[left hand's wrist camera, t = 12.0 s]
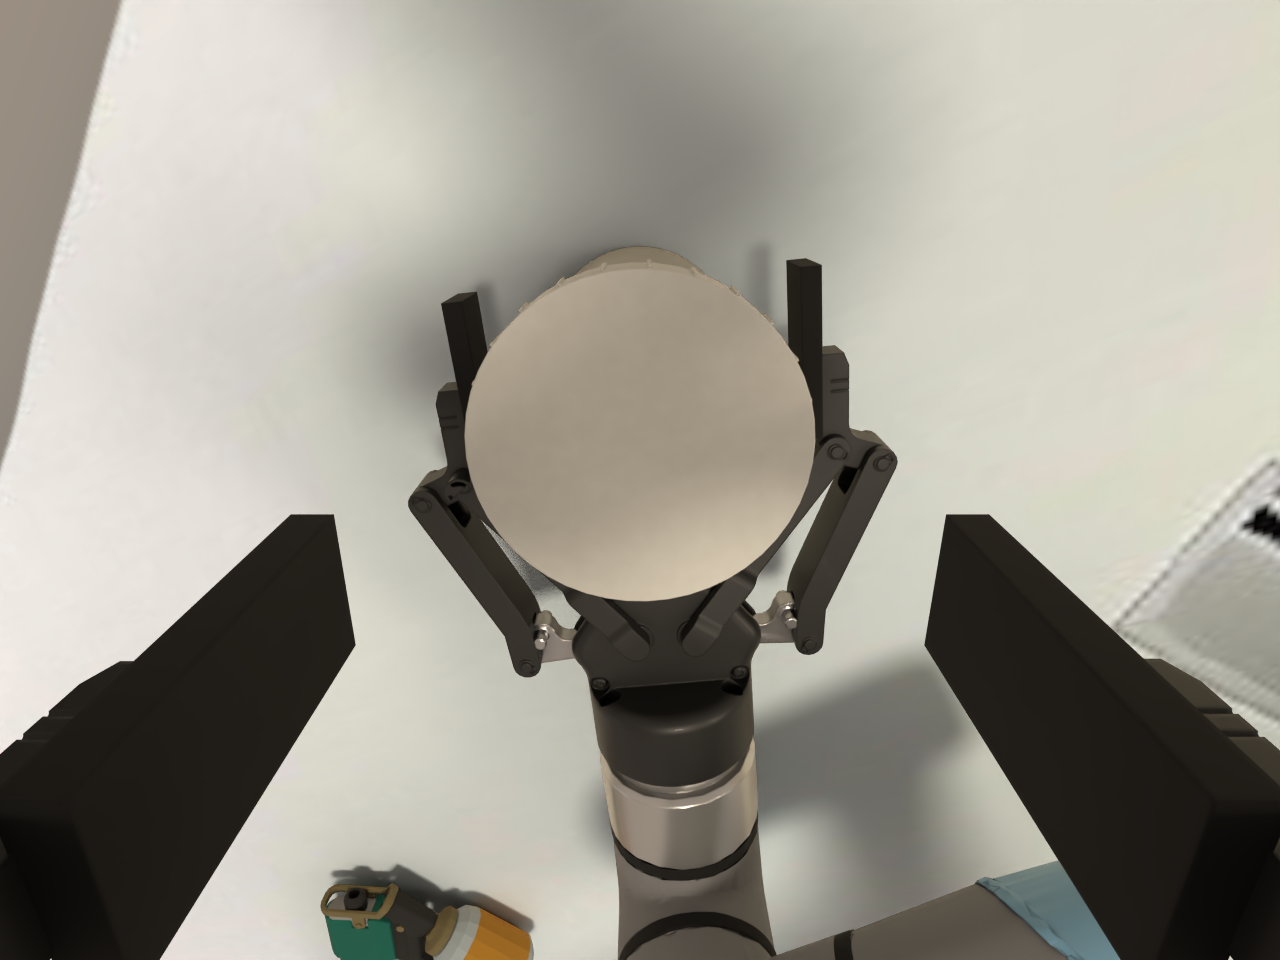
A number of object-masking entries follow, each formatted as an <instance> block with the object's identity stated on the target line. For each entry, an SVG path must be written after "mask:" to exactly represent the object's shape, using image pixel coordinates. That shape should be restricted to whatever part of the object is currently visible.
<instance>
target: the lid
mask: <svg viewBox="0 0 1280 960" xmlns="http://www.w3.org/2000/svg"><path fill="white" fill-rule="evenodd" d="M518 311H519V312H520V314H519V315H518V316H517V317H516V318H515V319H514V320H513V321H512V322H511V323H510V324H509V325H508V326H507V327H506V328H505V329H504V330H503V331H502V333H501V334H499V335H498V336H497V337H496V338H495V339H494V340H493V341H492V342H491V343H490V346H491V348H490V349H489V351H488V353H487V355H486V357H485V358H484V360H483V362H482V364H481V366H480V368H479V370H478V372H477V375H476V378H475V380H474V381H473V382H472V389H471V392H470V397H469V401H468V406H467V411H466V421H465V448H466V459H467V463H468V468H469V473H470V477H471V481H472V483H473V486H474V489H475V492H476V494H477V497H478V500H479V501H480V503H481V505H482V507H483V509H484V511H485V513H486V515H487V517H488V518H489V520H490V521H491V523H492V524H493V526H494V527H495V529H496V530H497V531H498V533H499V534H500V536H501V537H502V538H503V539H504V540H505V541H506V542H507V543H508V545H509V546H510V547H511V548H512V549H513V550H514V551H515V552H516V553H517V554H518V555H520V556H521V557H522V558H523V559H524V560H525V561H527V562H528V563H529V564H530V565H531V566H533V567H534V568H536V569H537V570H539V571H540V572H542V573H543V574H545V575H546V576H548V577H550V578H552V579H554V580H556V581H558V582H560V583H562V584H563V585H565V586H568V587H571V588H573V589H576V590H579V591H581V592H584V593H587V594H591V595H595V596H599V597H603V598H608V599H616V600H624V601H655V600H665V599H672V598H676V597H681V596H685V595H690V594H693V593H696V592H698V591H701V590H704V589H707V588H710V587H712V586H714V585H716V584H718V583H720V582H722V581H725V580H727V579H729V578H730V577H732V576H733V575H735V574H736V573H738V572H740V571H741V570H743V569H744V568H746V567H747V566H748V565H750V564H751V563H752V562H753V561H755V560H756V559H757V558H758V557H759V556H761V555H762V554H763V553H764V552H765V551H766V550H767V549H768V548H769V547H770V546H771V545H772V543H773V542H774V541H775V540H776V539H777V538H778V537H779V535H780V534H781V533H782V531H783V530H784V529H785V527H786V526H787V525H788V523H789V522H790V520H791V518H792V516H793V515H794V513H795V511H796V509H797V507H798V506H799V504H800V502H801V499H802V497H803V494H804V492H805V489H806V487H807V484H808V480H809V476H810V472H811V468H812V464H813V457H814V448H815V418H814V412H813V407H812V398H811V396H810V393H809V390H808V387H807V383H806V380H805V377H804V375H803V373H802V370H801V368H800V366H799V364H798V361H799V359H798V358H797V356H796V355H795V354H794V353H793V352H792V351H791V350H790V348H789V347H788V345H787V344H786V342H785V341H784V339H783V338H782V336H781V335H780V334H779V333H778V332H777V331H776V330H775V328H774V327H773V325H774V324H775V323H774V322H773V321H772V320H771V319H770V318H769V317H768V316H767V315H766V314H764V315H762V314H761V313H760V312H759V311H758V310H757V309H756V308H755V307H754V306H752V305H751V304H750V303H749V302H748V301H747V300H745V299H744V298H743V297H742V296H741V295H740V293H739V292H738V290H737V289H736V288H735V287H733V286H731V287H730V288H729V287H727V286H725V285H724V284H722V283H721V282H719V281H716V280H714V279H712V278H710V277H708V276H705V275H703V274H701V273H699V272H697V270H696V269H695V268H694V267H691V269H690V270H689V269H685V268H682V267H679V266H673V265H667V264H660V263H651V259H647V262H629V263H620V264H612V265H607V264H606V262H605V263H602V265H601V267H599V268H595V269H591V270H587V271H584V272H582V273H579V274H577V275H575V276H572V277H570V278H567V279H565V278H564V277H562V278H561V279H560V280H559V281H558V282H557V283H556V285H555V286H553V287H551V288H550V289H548V290H546V291H545V292H544V293H542V294H541V295H540V296H538V297H537V298H536V299H535V300H533V301H532V302H531V303H529V302H528V301H527V302H526V303H525V304H524V305H523V306H522V307H521V308H520V309H519V310H518Z"/></svg>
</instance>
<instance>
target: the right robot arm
mask: <svg viewBox="0 0 1280 960" xmlns="http://www.w3.org/2000/svg"><path fill="white" fill-rule="evenodd" d="M786 262H787V302H788V343H789V348H790V350H791V351H792V352H793V353H794V354H795V355H796V356H797V358H798V359H799V361H798V364H799V366H800V368H801V370H802V373H803V375H804V377H805V380H806V383H807V387H808V390H809V393H810V396H811V398H812V407H813V412H814V418H815V448H814V457H813V464H812V468H811V472H810V476H809V480H808V484H807V487H806V489H805V492H804V494H803V497H802V499H801V502H800V504H799V506H798V507H797V509H796V511H795V513H794V515H793V516H792V518H791V520H790V522H789V523H788V525H787V526H786V527H785V529H784V530H783V531H782V533H781V534H780V535H779V537H778V538H777V539H776V540H775V541H774V542H773V543H772V545H771V546H770V547H769V548H768V549H767V550H766V551H765V552H764V553H763V554H762V555H761V556H759V557H758V558H757V559H756V560H755V561H753V562H752V563H751V564H750V565H748V566H747V567H746V568H744V569H743V570H741V571H740V572H738V573H736V574H735V575H733V576H732V577H730V578H729V579H727V580H725V581H722V582H720V583H718V584H716V585H714V586H712V587H710V588H707V589H704V590H701V591H698V592H696V593H693V594H690V595H685V596H681V597H676V598H672V599H665V600H655V601H624V600H616V599H608V598H603V597H599V596H595V595H591V594H587V593H584V592H581V591H579V590H576V589H573V588H571V587H568V586H565V585H563V584H562V583H560V582H558V581H556V580H554V579H552V578H550V577H548V576H546V575H545V574H543V573H542V572H541V573H542V574H543V575H544V576H545V577H546V578H548V579H549V580H550V581H551V582H552V583H553V584H554V585H555V586H557V587H558V588H559V589H560V590H561V591H562V592H563V594H564V595H565V598H566V600H567V602H568V603H569V605H570V606H571V607H572V608H573V609H575V610H576V611H577V612H578V613H579V614H580V615H581V617H580V618H579V620H578V621H577V623H576V625H575V628H574V629H567V628H564V627H562V626H560V625H559V624H558V622H557V621H556V619H555V617H553V616H552V613H551V612H550V611H548V610H544V611H542V612H541V611H540V608H539V605H538V602H537V600H536V598H535V596H534V594H533V593H532V591H531V590H530V588H529V587H528V585H527V584H526V583H525V581H524V580H523V578H522V577H521V576H520V574H519V573H518V571H517V570H516V569H515V567H514V566H513V564H512V563H511V562H510V560H509V559H508V557H507V556H506V555H505V553H504V552H503V550H502V549H501V548H500V546H499V545H498V543H497V542H496V541H495V539H494V538H493V537H492V535H491V534H490V532H489V531H488V530H487V528H486V527H485V525H484V524H483V523H482V521H483V522H484V523H485V524H486V525H488V526H489V527H490V528H491V529H492V530H493V531H494V532H495V533H497V534H498V535H499V536H500V534H499V533H498V531H497V530H496V529H495V527H494V526H493V524H492V523H491V521H490V520H489V518H488V517H487V515H486V513H485V511H484V509H483V507H482V505H481V503H480V501H479V500H478V497H477V494H476V492H475V489H474V486H473V483H472V481H471V477H470V473H469V468H468V463H467V459H466V448H465V421H466V411H467V406H468V401H469V397H470V392H471V389H472V382H473V381H474V380H475V378H476V375H477V372H478V370H479V368H480V366H481V364H482V362H483V360H484V358H485V357H486V355H487V353H488V352H487V347H486V341H485V335H484V329H483V324H482V318H481V312H480V307H479V301H478V295H477V292H470V293H461V294H457V295H455V296H453V297H452V298H450V299H448V300H447V301H445V302H443V303H441V305H442V311H443V316H444V321H445V326H446V331H447V336H448V341H449V347H450V352H451V357H452V362H453V367H454V372H455V378H456V382H451V383H446V384H445V385H444V386H443V387H442V388H441V389H440V390H439V391H438V396H437V401H436V408H437V413H438V418H439V423H440V427H441V432H442V437H443V442H444V447H445V452H446V457H447V464H448V465H447V467H445V468H442V469H440V470H434V471H431V472H429V473H428V474H427V475H426V476H425V477H424V479H423V480H422V481H421V483H420V484H419V485H418V487H417V488H416V489H415V491H414V492H413V494H412V495H411V496H410V498H409V501H408V506H409V509H410V511H411V512H412V514H413V515H414V516H415V518H416V519H417V520H418V522H419V523H420V524H421V526H422V527H423V528H424V530H425V531H426V532H427V534H428V535H429V536H430V538H431V539H432V540H433V542H434V543H435V544H436V546H437V547H438V548H439V550H440V551H441V552H442V554H443V555H444V556H445V558H446V559H447V560H448V562H449V563H450V564H451V566H452V567H453V568H454V570H455V571H456V572H457V574H458V575H459V576H460V577H461V579H462V580H463V581H464V583H465V584H466V585H467V587H468V588H469V589H470V591H471V592H472V593H473V595H474V596H475V597H476V599H477V600H478V601H479V603H480V604H481V605H482V607H483V608H484V609H485V611H486V612H487V613H488V615H489V616H490V617H491V619H492V620H493V621H494V623H495V624H496V625H497V627H498V628H499V629H500V631H501V632H502V633H503V635H504V636H505V639H506V642H507V646H508V649H509V653H510V656H511V660H512V663H513V667H514V669H515V671H516V673H518V674H519V675H520V676H523V677H533V676H535V675H536V674H538V673H539V671H540V668H541V663H545V662H552V661H558V660H565V659H572V658H575V659H576V660H577V662H578V663H579V664H580V665H581V666H582V667H583V669H584V670H585V672H586V674H587V677H588V681H589V687H590V694H591V700H592V707H593V714H594V720H595V727H596V734H597V740H598V746H599V748H600V751H601V756H600V762H601V768H602V774H603V780H604V786H605V792H606V798H607V804H608V810H609V816H610V825H611V829H612V834H613V838H614V847H615V856H616V865H617V874H618V884H619V936H618V960H1120V958H1119V957H1118V955H1117V953H1116V952H1115V950H1114V949H1113V947H1112V945H1111V944H1110V942H1109V941H1108V939H1107V937H1106V936H1105V934H1104V933H1103V931H1102V929H1101V928H1100V926H1099V924H1098V923H1097V921H1096V920H1095V918H1094V916H1093V915H1092V913H1091V912H1090V910H1089V908H1088V907H1087V905H1086V904H1085V902H1084V900H1083V899H1082V897H1081V896H1080V894H1079V892H1078V891H1077V889H1076V888H1075V886H1074V884H1073V883H1072V881H1071V880H1070V878H1069V876H1068V875H1067V873H1066V872H1065V870H1064V868H1063V867H1062V865H1061V864H1060V862H1059V861H1055V862H1051V863H1048V864H1044V865H1041V866H1037V867H1034V868H1030V869H1027V870H1023V871H1019V872H1016V873H1012V874H1009V875H1005V876H1002V877H998V878H995V879H992V878H987V877H984V878H982V879H979V880H977V881H976V882H975V884H974V885H971V886H969V887H966V888H964V889H961V890H958V891H956V892H953V893H950V894H948V895H945V896H943V897H940V898H937V899H935V900H932V901H930V902H927V903H924V904H922V905H919V906H916V907H914V908H911V909H909V910H906V911H903V912H901V913H898V914H896V915H893V916H890V917H888V918H885V919H882V920H880V921H877V922H875V923H872V924H869V925H867V926H864V927H861V928H859V929H856V930H854V929H852V930H849V931H846V932H843V933H840V934H837V935H834V936H831V937H828V938H825V939H823V940H820V941H817V942H814V943H811V944H808V945H805V946H802V947H800V948H797V949H794V950H791V951H788V952H785V953H782V954H779V955H776V952H775V949H774V945H773V939H772V934H771V928H770V922H769V917H768V911H767V906H766V900H765V894H764V887H763V879H762V869H761V857H760V846H759V834H758V789H757V773H756V757H755V741H754V738H753V734H754V716H753V697H752V678H751V660H752V657H753V654H754V652H755V650H756V649H757V647H758V645H759V643H792V642H794V643H795V646H796V648H797V650H798V651H799V652H800V653H802V654H806V655H811V654H814V653H816V652H818V651H819V650H820V649H821V648H822V645H823V637H824V624H825V612H826V608H827V606H828V604H829V602H830V600H831V598H832V596H833V594H834V592H835V590H836V588H837V586H838V584H839V582H840V580H841V578H842V576H843V574H844V572H845V570H846V568H847V566H848V564H849V562H850V560H851V558H852V556H853V554H854V552H855V550H856V548H857V546H858V544H859V542H860V539H861V537H862V535H863V533H864V531H865V529H866V527H867V525H868V523H869V521H870V519H871V517H872V515H873V513H874V511H875V509H876V507H877V505H878V503H879V501H880V499H881V497H882V495H883V493H884V491H885V489H886V487H887V485H888V483H889V481H890V479H891V477H892V475H893V473H894V471H895V469H896V466H897V457H896V455H895V454H894V452H893V451H892V450H891V449H890V448H889V447H888V446H887V445H886V444H885V443H884V442H883V441H882V440H881V439H880V438H879V437H878V436H877V435H876V434H875V433H874V432H872V431H867V430H865V431H858V430H854V429H851V428H849V364H848V361H847V359H846V357H845V354H844V352H842V351H841V350H840V349H839V348H838V347H836V346H835V345H833V346H823V347H822V265H820V264H818V263H816V262H813V261H811V260H808V259H806V258H805V259H795V260H786ZM832 480H833V482H832V484H831V486H830V488H829V490H828V492H827V494H826V497H825V499H824V501H823V503H822V505H821V507H820V510H819V512H818V514H817V516H816V518H815V520H814V522H813V525H812V527H811V529H810V531H809V533H808V535H807V537H806V540H805V542H804V544H803V546H802V548H801V550H800V553H799V555H798V557H797V559H796V561H795V563H794V565H793V568H792V571H791V573H790V576H789V580H788V585H787V591H783V590H782V591H779V592H778V593H777V594H776V597H775V598H774V599H773V601H772V604H771V607H770V608H769V609H768V610H767V611H765V612H763V613H759V614H756V613H755V611H754V609H753V608H752V607H751V606H750V605H749V604H748V603H747V602H746V601H745V599H746V598H747V597H748V595H749V594H750V593H751V591H752V590H753V588H754V586H755V584H756V580H757V577H758V575H759V573H760V572H761V571H762V569H763V568H764V567H765V566H766V564H767V563H768V562H769V560H770V559H771V558H772V557H773V555H774V554H775V553H776V552H777V550H778V549H779V548H780V546H781V545H782V544H783V543H784V541H785V540H786V539H787V538H788V536H789V535H790V534H791V532H792V531H793V530H794V529H795V527H796V526H797V525H798V523H799V522H800V521H801V520H802V518H803V517H804V516H805V515H806V513H807V512H808V511H809V509H810V508H811V507H812V506H813V504H814V503H815V502H816V500H817V499H818V498H819V497H820V495H821V494H822V493H823V492H824V490H825V489H826V488H827V486H828V485H829V484H830V483H831V481H832ZM480 519H481V520H482V521H481V520H480ZM500 537H501V536H500ZM501 538H502V537H501ZM502 539H503V538H502ZM503 540H504V539H503ZM504 541H505V540H504ZM538 571H539V570H538Z"/></svg>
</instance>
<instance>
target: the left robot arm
mask: <svg viewBox="0 0 1280 960" xmlns="http://www.w3.org/2000/svg"><path fill="white" fill-rule="evenodd" d="M354 647H355V639H354V633H353V627H352V621H351V615H350V609H349V603H348V597H347V591H346V585H345V579H344V573H343V567H342V561H341V555H340V549H339V543H338V537H337V531H336V525H335V519H334V515H290V516H289V517H288V518H287V519H286V520H285V521H283V522H282V523H281V524H280V525H279V526H278V527H277V528H276V529H275V530H274V531H273V532H272V533H271V534H270V535H268V536H267V537H266V538H265V539H264V540H263V541H262V542H261V543H260V544H259V545H258V546H257V547H256V548H255V549H253V550H252V551H251V552H250V553H249V554H248V555H247V556H246V557H245V558H244V559H243V560H242V561H241V562H240V563H238V564H237V565H236V566H235V567H234V568H233V569H232V570H231V571H230V572H229V573H228V574H227V575H226V576H225V577H223V578H222V579H221V580H220V581H219V582H218V583H217V584H216V585H215V586H214V587H213V588H212V589H211V590H210V591H208V592H207V593H206V594H205V595H204V596H203V597H202V598H201V599H200V600H199V601H198V602H197V603H196V604H195V605H193V606H192V607H191V608H190V609H189V610H188V611H187V612H186V613H185V614H184V615H183V616H182V617H181V618H180V619H178V620H177V621H176V622H175V623H174V624H173V625H172V626H171V627H170V628H169V629H168V630H167V631H166V632H165V633H163V634H162V635H161V636H160V637H159V638H158V639H157V640H156V641H155V642H154V643H153V644H152V645H151V646H150V647H148V648H147V649H146V650H145V651H144V652H143V653H142V654H141V655H140V656H139V657H138V658H137V659H136V660H135V661H120V662H118V663H116V664H114V665H113V666H111V667H109V668H107V669H106V670H104V671H102V672H100V673H98V674H97V675H95V676H93V677H91V678H90V679H88V680H86V681H84V682H82V683H81V684H79V685H78V686H77V687H76V688H75V689H73V690H72V691H71V692H70V693H69V694H68V695H67V696H66V697H64V698H63V699H62V700H61V701H60V702H59V703H58V704H56V705H55V706H54V707H53V708H52V709H51V710H50V711H49V715H48V717H42V718H41V719H40V720H38V721H37V722H36V723H35V724H34V725H33V726H32V727H30V728H29V729H28V730H27V731H26V732H25V733H24V734H23V739H22V740H16V741H15V742H14V743H12V744H11V745H10V746H9V747H8V748H7V749H6V750H4V751H3V752H2V753H1V754H0V960H50V959H52V960H160V958H161V957H162V955H163V953H164V952H165V950H166V949H167V947H168V945H169V944H170V942H171V941H172V939H173V937H174V936H175V934H176V933H177V931H178V929H179V928H180V926H181V924H182V923H183V921H184V920H185V918H186V916H187V915H188V913H189V912H190V910H191V908H192V907H193V905H194V904H195V902H196V900H197V899H198V897H199V896H200V894H201V892H202V891H203V889H204V888H205V886H206V884H207V883H208V881H209V880H210V878H211V876H212V875H213V873H214V872H215V870H216V868H217V867H218V865H219V864H220V862H221V860H222V859H223V857H224V855H225V854H226V852H227V851H228V849H229V847H230V846H231V844H232V843H233V841H234V839H235V838H236V836H237V835H238V833H239V831H240V830H241V828H242V827H243V825H244V823H245V822H246V820H247V819H248V817H249V815H250V814H251V812H252V811H253V809H254V807H255V806H256V804H257V803H258V801H259V799H260V798H261V796H262V795H263V793H264V791H265V790H266V788H267V786H268V785H269V783H270V782H271V780H272V778H273V777H274V775H275V774H276V772H277V770H278V769H279V767H280V766H281V764H282V762H283V761H284V759H285V758H286V756H287V754H288V753H289V751H290V750H291V748H292V746H293V745H294V743H295V742H296V740H297V738H298V737H299V735H300V734H301V732H302V730H303V729H304V727H305V726H306V724H307V722H308V721H309V719H310V717H311V716H312V714H313V713H314V711H315V709H316V708H317V706H318V705H319V703H320V701H321V700H322V698H323V697H324V695H325V693H326V692H327V690H328V689H329V687H330V685H331V684H332V682H333V681H334V679H335V677H336V676H337V674H338V673H339V671H340V669H341V668H342V666H343V665H344V663H345V661H346V660H347V658H348V657H349V655H350V653H351V652H352V650H353V648H354ZM925 647H926V648H927V650H928V652H929V653H930V655H931V657H932V658H933V660H934V661H935V663H936V665H937V666H938V668H939V669H940V671H941V673H942V674H943V676H944V677H945V679H946V681H947V682H948V684H949V685H950V687H951V689H952V690H953V692H954V693H955V695H956V697H957V698H958V700H959V701H960V703H961V705H962V706H963V708H964V709H965V711H966V713H967V714H968V716H969V717H970V719H971V721H972V722H973V724H974V726H975V727H976V729H977V730H978V732H979V734H980V735H981V737H982V738H983V740H984V742H985V743H986V745H987V746H988V748H989V750H990V751H991V753H992V754H993V756H994V758H995V759H996V761H997V762H998V764H999V766H1000V767H1001V769H1002V770H1003V772H1004V774H1005V775H1006V777H1007V778H1008V780H1009V782H1010V783H1011V785H1012V786H1013V788H1014V790H1015V791H1016V793H1017V795H1018V796H1019V798H1020V799H1021V801H1022V803H1023V804H1024V806H1025V807H1026V809H1027V811H1028V812H1029V814H1030V815H1031V817H1032V819H1033V820H1034V822H1035V823H1036V825H1037V827H1038V828H1039V830H1040V831H1041V833H1042V835H1043V836H1044V838H1045V839H1046V841H1047V843H1048V844H1049V846H1050V847H1051V849H1052V851H1053V852H1054V854H1055V855H1056V857H1057V859H1058V860H1059V862H1060V864H1061V865H1062V867H1063V868H1064V870H1065V872H1066V873H1067V875H1068V876H1069V878H1070V880H1071V881H1072V883H1073V884H1074V886H1075V888H1076V889H1077V891H1078V892H1079V894H1080V896H1081V897H1082V899H1083V900H1084V902H1085V904H1086V905H1087V907H1088V908H1089V910H1090V912H1091V913H1092V915H1093V916H1094V918H1095V920H1096V921H1097V923H1098V924H1099V926H1100V928H1101V929H1102V931H1103V933H1104V934H1105V936H1106V937H1107V939H1108V941H1109V942H1110V944H1111V945H1112V947H1113V949H1114V950H1115V952H1116V953H1117V955H1118V957H1119V958H1120V960H1228V959H1229V956H1231V957H1232V959H1233V960H1280V750H1279V749H1278V748H1276V747H1275V746H1274V745H1273V744H1272V743H1271V742H1270V741H1268V740H1267V739H1266V738H1265V737H1259V736H1258V731H1257V730H1256V729H1255V728H1254V727H1252V726H1251V725H1250V724H1249V723H1248V722H1247V721H1246V720H1245V719H1243V718H1242V717H1241V716H1240V715H1239V714H1233V713H1232V708H1231V707H1230V706H1229V705H1227V704H1226V703H1225V702H1224V701H1223V700H1222V699H1221V698H1219V697H1218V696H1217V695H1216V694H1215V693H1214V692H1213V691H1211V690H1210V689H1209V688H1208V687H1207V686H1206V685H1205V684H1204V683H1202V682H1201V681H1199V680H1198V679H1196V678H1194V677H1192V676H1190V675H1189V674H1187V673H1185V672H1183V671H1182V670H1180V669H1178V668H1176V667H1174V666H1173V665H1171V664H1169V663H1167V662H1165V661H1164V660H1162V659H1143V658H1142V657H1141V656H1140V655H1139V654H1138V653H1137V652H1136V651H1135V650H1134V649H1133V648H1132V647H1130V646H1129V645H1128V644H1127V643H1126V642H1125V641H1124V640H1123V639H1122V638H1121V637H1120V636H1119V635H1118V634H1117V633H1115V632H1114V631H1113V630H1112V629H1111V628H1110V627H1109V626H1108V625H1107V624H1106V623H1105V622H1104V621H1103V620H1102V619H1100V618H1099V617H1098V616H1097V615H1096V614H1095V613H1094V612H1093V611H1092V610H1091V609H1090V608H1089V607H1088V606H1087V605H1085V604H1084V603H1083V602H1082V601H1081V600H1080V599H1079V598H1078V597H1077V596H1076V595H1075V594H1074V593H1073V592H1072V591H1070V590H1069V589H1068V588H1067V587H1066V586H1065V585H1064V584H1063V583H1062V582H1061V581H1060V580H1059V579H1058V578H1057V577H1055V576H1054V575H1053V574H1052V573H1051V572H1050V571H1049V570H1048V569H1047V568H1046V567H1045V566H1044V565H1043V564H1042V563H1040V562H1039V561H1038V560H1037V559H1036V558H1035V557H1034V556H1033V555H1032V554H1031V553H1030V552H1029V551H1028V550H1027V549H1025V548H1024V547H1023V546H1022V545H1021V544H1020V543H1019V542H1018V541H1017V540H1016V539H1015V538H1014V537H1013V536H1012V535H1010V534H1009V533H1008V532H1007V531H1006V530H1005V529H1004V528H1003V527H1002V526H1001V525H1000V524H999V523H998V522H997V521H995V520H994V519H993V518H992V517H991V516H990V515H946V519H945V525H944V531H943V537H942V543H941V549H940V555H939V561H938V567H937V573H936V579H935V585H934V591H933V597H932V603H931V609H930V615H929V621H928V627H927V633H926V639H925Z"/></svg>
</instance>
